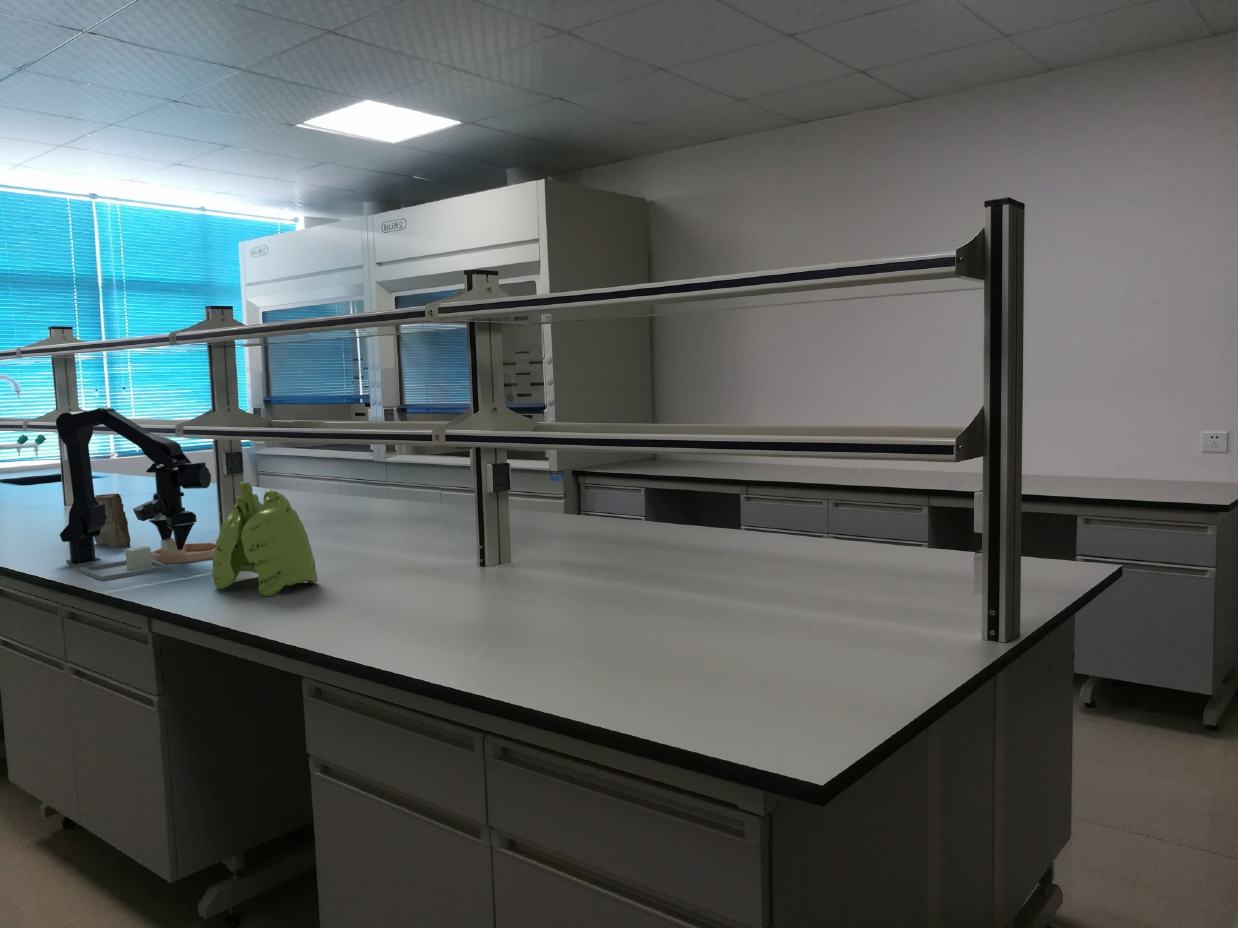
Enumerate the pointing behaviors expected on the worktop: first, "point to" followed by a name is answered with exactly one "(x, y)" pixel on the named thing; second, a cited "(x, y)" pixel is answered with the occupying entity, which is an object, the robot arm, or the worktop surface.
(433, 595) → the worktop surface
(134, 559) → the block
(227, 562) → the lungs
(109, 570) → the parts tray
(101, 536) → the mineral sample
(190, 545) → the bowl
